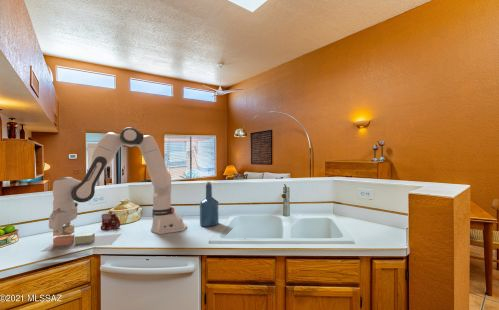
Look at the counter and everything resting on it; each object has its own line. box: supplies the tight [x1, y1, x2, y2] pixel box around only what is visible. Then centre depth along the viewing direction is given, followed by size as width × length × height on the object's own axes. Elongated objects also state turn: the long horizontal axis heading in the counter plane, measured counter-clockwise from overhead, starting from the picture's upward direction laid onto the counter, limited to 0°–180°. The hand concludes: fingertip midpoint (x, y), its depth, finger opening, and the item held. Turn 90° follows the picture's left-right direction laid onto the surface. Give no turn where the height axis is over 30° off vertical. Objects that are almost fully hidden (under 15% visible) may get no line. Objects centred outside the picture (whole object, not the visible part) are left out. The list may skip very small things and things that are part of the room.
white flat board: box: [40, 233, 122, 252], centre depth 124 cm, size 32×17×1 cm, turn 104°
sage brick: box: [74, 232, 96, 244], centre depth 124 cm, size 8×4×4 cm, turn 104°
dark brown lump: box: [100, 213, 121, 231], centre depth 149 cm, size 7×12×10 cm, turn 84°
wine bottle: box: [199, 181, 220, 228], centre depth 157 cm, size 14×13×30 cm
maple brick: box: [52, 224, 75, 237], centre depth 122 cm, size 8×4×4 cm, turn 104°
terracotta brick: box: [52, 234, 75, 246], centre depth 122 cm, size 8×4×4 cm, turn 104°
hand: (64, 231), depth 122 cm, fingers closed on maple brick, 4 cm apart
